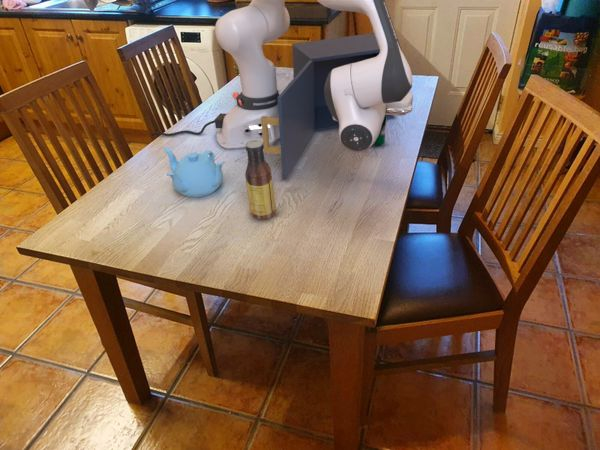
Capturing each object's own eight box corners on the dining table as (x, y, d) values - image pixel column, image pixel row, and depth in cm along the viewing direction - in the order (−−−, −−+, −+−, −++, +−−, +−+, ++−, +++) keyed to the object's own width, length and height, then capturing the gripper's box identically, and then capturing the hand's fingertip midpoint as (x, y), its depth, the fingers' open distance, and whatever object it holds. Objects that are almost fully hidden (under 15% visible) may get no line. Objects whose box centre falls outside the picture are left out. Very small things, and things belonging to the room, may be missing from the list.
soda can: (384, 147, 141) (387, 110, 134) (367, 146, 142) (369, 109, 134) (385, 140, 145) (388, 104, 137) (368, 139, 146) (371, 103, 138)
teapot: (222, 170, 133) (217, 138, 127) (230, 197, 121) (225, 163, 115) (171, 179, 130) (163, 146, 124) (174, 207, 118) (166, 173, 112)
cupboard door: (263, 177, 129) (255, 95, 115) (294, 131, 152) (291, 59, 138) (286, 179, 127) (281, 97, 113) (314, 133, 150) (312, 60, 136)
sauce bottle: (262, 204, 118) (255, 133, 106) (281, 212, 115) (275, 140, 103) (244, 215, 114) (235, 143, 102) (263, 224, 111) (255, 151, 99)
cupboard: (393, 118, 158) (400, 46, 144) (312, 133, 151) (310, 58, 137) (371, 100, 172) (375, 32, 157) (295, 112, 165) (292, 43, 150)
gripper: (412, 100, 106) (416, 79, 116) (326, 95, 111) (338, 76, 121) (410, 125, 110) (414, 103, 120) (326, 119, 114) (337, 99, 125)
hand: (375, 89), depth 121 cm, fingers open, 8 cm apart
